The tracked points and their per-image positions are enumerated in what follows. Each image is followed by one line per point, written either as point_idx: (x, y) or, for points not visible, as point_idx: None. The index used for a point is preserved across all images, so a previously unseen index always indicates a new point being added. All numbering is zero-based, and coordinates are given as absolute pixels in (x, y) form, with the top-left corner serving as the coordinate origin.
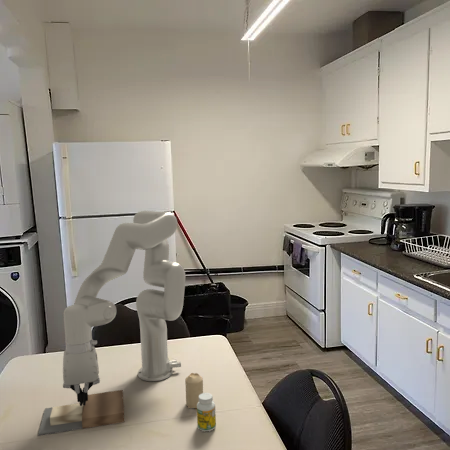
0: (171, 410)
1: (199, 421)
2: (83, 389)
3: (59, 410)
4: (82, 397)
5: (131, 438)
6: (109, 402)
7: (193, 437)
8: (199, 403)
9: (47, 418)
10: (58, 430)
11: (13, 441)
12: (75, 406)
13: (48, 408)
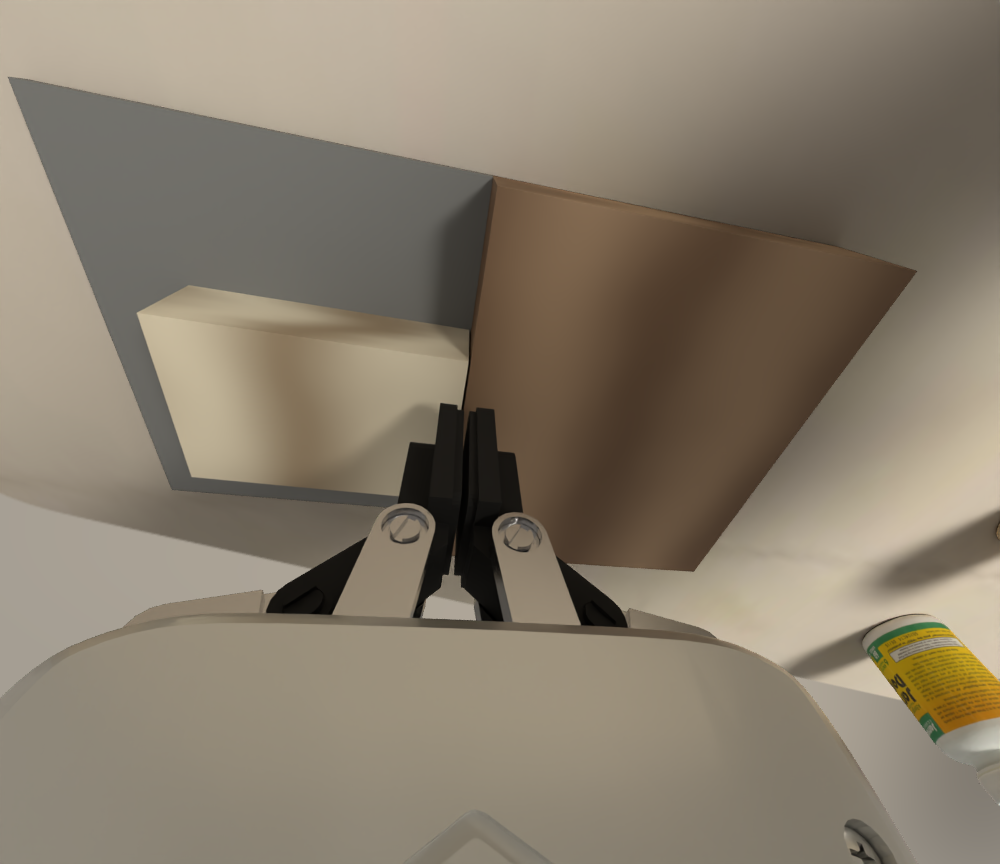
0: (921, 515)
1: (891, 681)
2: (472, 587)
3: (244, 406)
4: (455, 544)
5: None
6: (675, 445)
7: (813, 653)
8: (978, 753)
9: None
10: (301, 497)
11: (24, 480)
12: (391, 395)
13: (61, 104)
